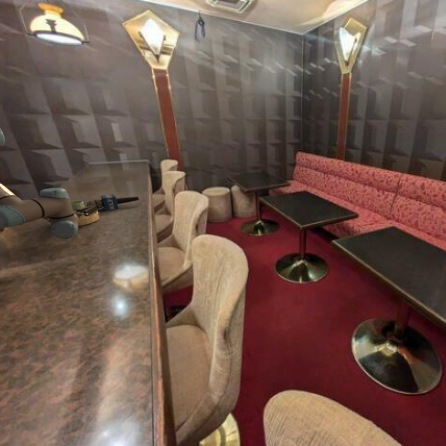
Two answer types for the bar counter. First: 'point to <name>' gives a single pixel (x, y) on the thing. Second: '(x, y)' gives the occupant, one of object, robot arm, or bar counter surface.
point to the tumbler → (78, 206)
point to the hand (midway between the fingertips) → (70, 207)
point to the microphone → (111, 202)
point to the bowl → (89, 219)
